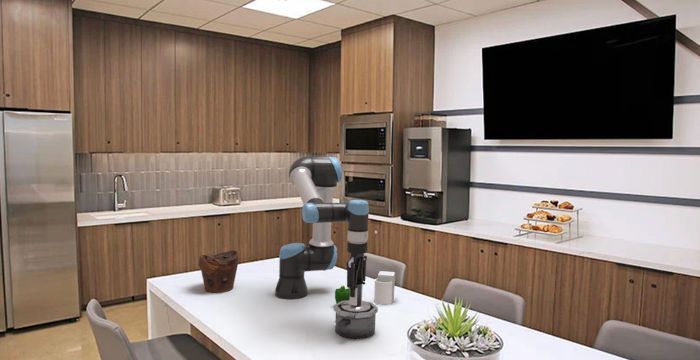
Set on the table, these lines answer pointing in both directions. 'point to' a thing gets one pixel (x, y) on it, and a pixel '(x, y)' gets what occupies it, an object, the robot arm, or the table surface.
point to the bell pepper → (342, 294)
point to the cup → (383, 293)
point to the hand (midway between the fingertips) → (355, 303)
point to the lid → (360, 305)
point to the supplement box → (387, 279)
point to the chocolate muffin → (219, 271)
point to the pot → (355, 322)
